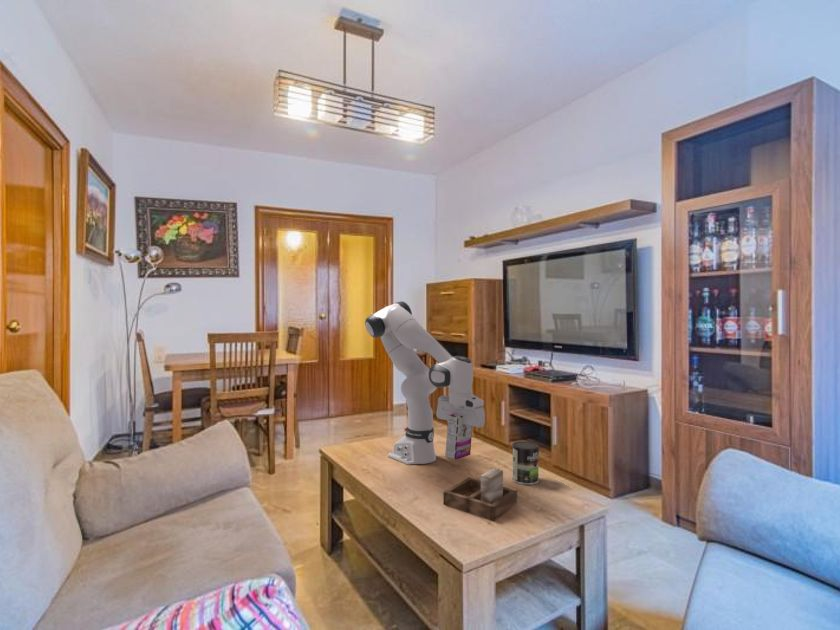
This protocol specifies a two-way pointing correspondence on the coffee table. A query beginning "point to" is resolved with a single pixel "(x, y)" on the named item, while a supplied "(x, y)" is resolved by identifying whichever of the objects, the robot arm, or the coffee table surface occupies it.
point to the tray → (482, 495)
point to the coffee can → (525, 462)
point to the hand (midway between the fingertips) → (459, 434)
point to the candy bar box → (457, 438)
